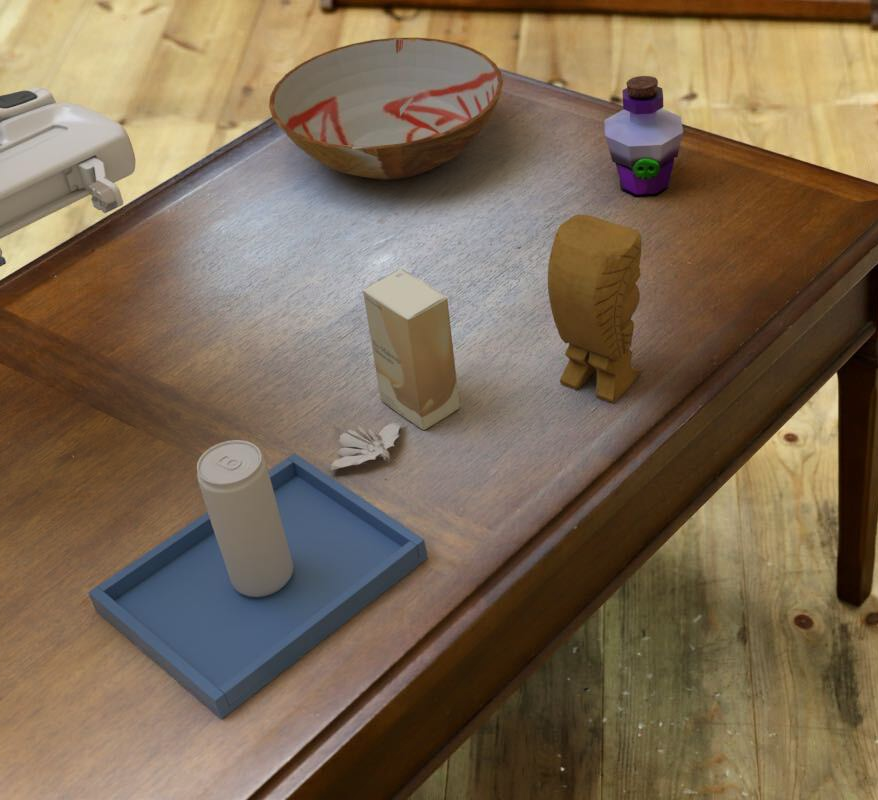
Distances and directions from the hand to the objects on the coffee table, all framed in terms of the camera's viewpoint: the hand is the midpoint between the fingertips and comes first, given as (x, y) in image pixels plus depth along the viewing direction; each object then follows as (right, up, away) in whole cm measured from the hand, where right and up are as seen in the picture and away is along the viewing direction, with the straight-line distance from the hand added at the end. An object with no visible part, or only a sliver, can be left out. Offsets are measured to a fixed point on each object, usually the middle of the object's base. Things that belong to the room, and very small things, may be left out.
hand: (55, 229), depth 96 cm
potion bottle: (+43, +11, +51) cm, 67 cm away
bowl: (+15, +15, +58) cm, 62 cm away
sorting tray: (+12, -26, +9) cm, 30 cm away
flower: (+18, -16, +20) cm, 31 cm away
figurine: (+38, -10, +26) cm, 47 cm away
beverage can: (+12, -26, +9) cm, 30 cm away
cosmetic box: (+22, -12, +24) cm, 35 cm away
